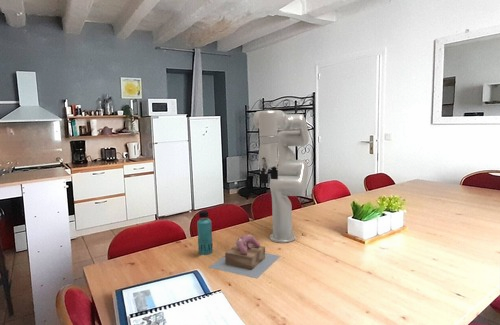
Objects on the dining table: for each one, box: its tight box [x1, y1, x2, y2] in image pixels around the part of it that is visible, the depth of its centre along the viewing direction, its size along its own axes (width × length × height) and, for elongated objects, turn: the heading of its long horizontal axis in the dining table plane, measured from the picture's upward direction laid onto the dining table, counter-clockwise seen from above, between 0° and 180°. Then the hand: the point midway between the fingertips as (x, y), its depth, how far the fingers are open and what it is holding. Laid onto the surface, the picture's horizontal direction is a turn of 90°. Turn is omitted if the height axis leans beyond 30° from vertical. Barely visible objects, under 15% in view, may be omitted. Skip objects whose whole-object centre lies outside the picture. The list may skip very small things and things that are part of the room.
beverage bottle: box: [196, 210, 214, 256], centre depth 143 cm, size 6×7×20 cm
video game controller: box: [235, 234, 261, 255], centre depth 132 cm, size 10×5×7 cm, turn 142°
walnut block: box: [224, 243, 266, 270], centre depth 133 cm, size 12×12×5 cm
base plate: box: [208, 252, 282, 279], centre depth 133 cm, size 22×22×2 cm
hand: (269, 181), depth 137 cm, fingers open, 9 cm apart
